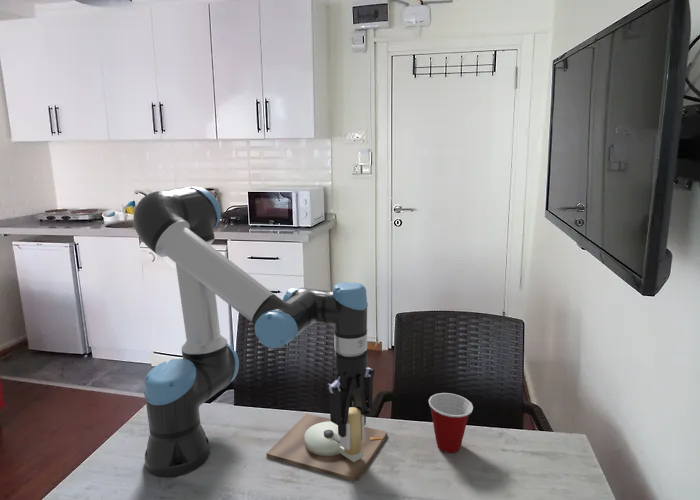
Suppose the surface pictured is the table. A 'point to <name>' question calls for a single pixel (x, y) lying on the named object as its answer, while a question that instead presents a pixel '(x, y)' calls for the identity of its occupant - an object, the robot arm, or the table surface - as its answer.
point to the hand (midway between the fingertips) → (352, 442)
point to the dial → (335, 438)
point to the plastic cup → (449, 419)
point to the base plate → (337, 465)
